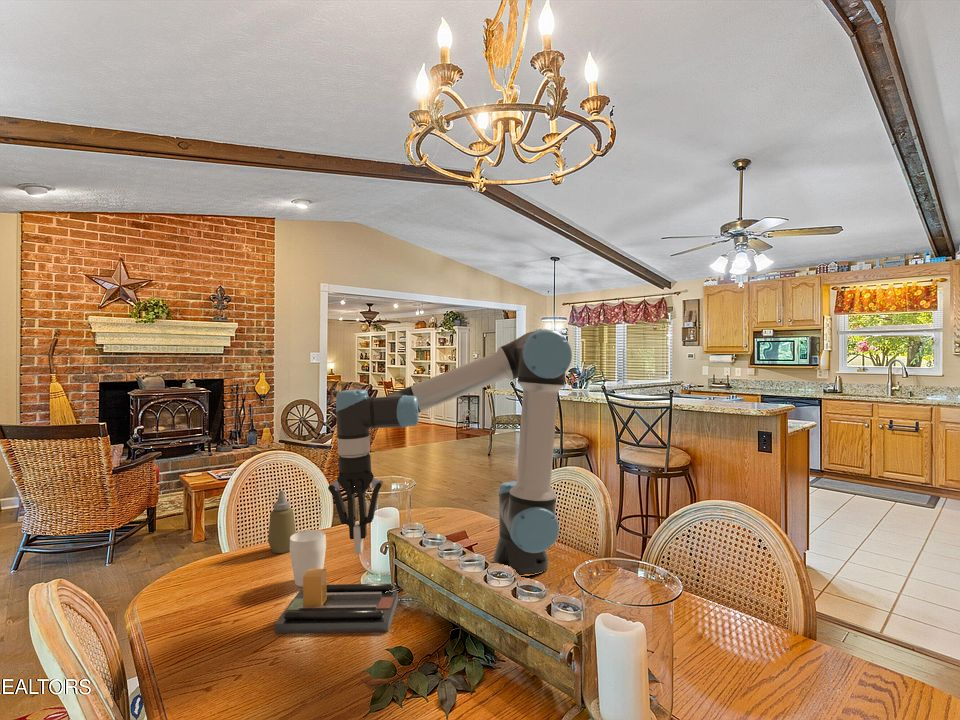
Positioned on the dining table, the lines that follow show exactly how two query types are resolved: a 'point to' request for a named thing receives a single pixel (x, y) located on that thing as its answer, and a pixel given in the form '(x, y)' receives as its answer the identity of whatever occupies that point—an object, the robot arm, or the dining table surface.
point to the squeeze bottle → (281, 525)
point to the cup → (307, 552)
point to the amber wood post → (314, 587)
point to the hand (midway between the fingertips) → (358, 551)
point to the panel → (342, 610)
